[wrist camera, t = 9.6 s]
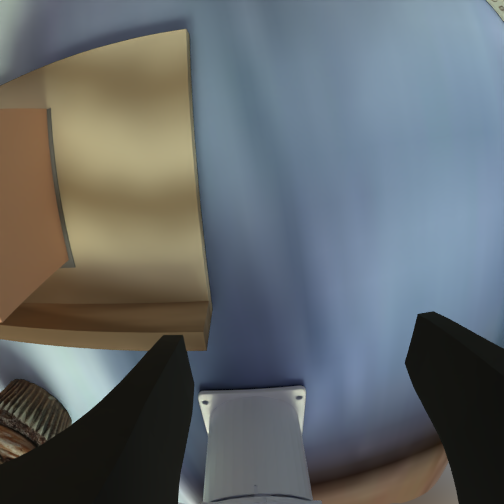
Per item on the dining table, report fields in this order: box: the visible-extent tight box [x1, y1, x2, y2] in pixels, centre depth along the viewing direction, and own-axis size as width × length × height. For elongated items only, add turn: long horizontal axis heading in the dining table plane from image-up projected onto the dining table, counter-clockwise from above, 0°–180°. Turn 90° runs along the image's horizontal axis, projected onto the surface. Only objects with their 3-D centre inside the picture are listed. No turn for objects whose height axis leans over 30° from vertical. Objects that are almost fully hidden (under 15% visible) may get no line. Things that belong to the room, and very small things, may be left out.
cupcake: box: [0, 379, 72, 464], centre depth 19 cm, size 10×10×10 cm
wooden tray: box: [0, 29, 213, 351], centre depth 14 cm, size 16×18×4 cm
